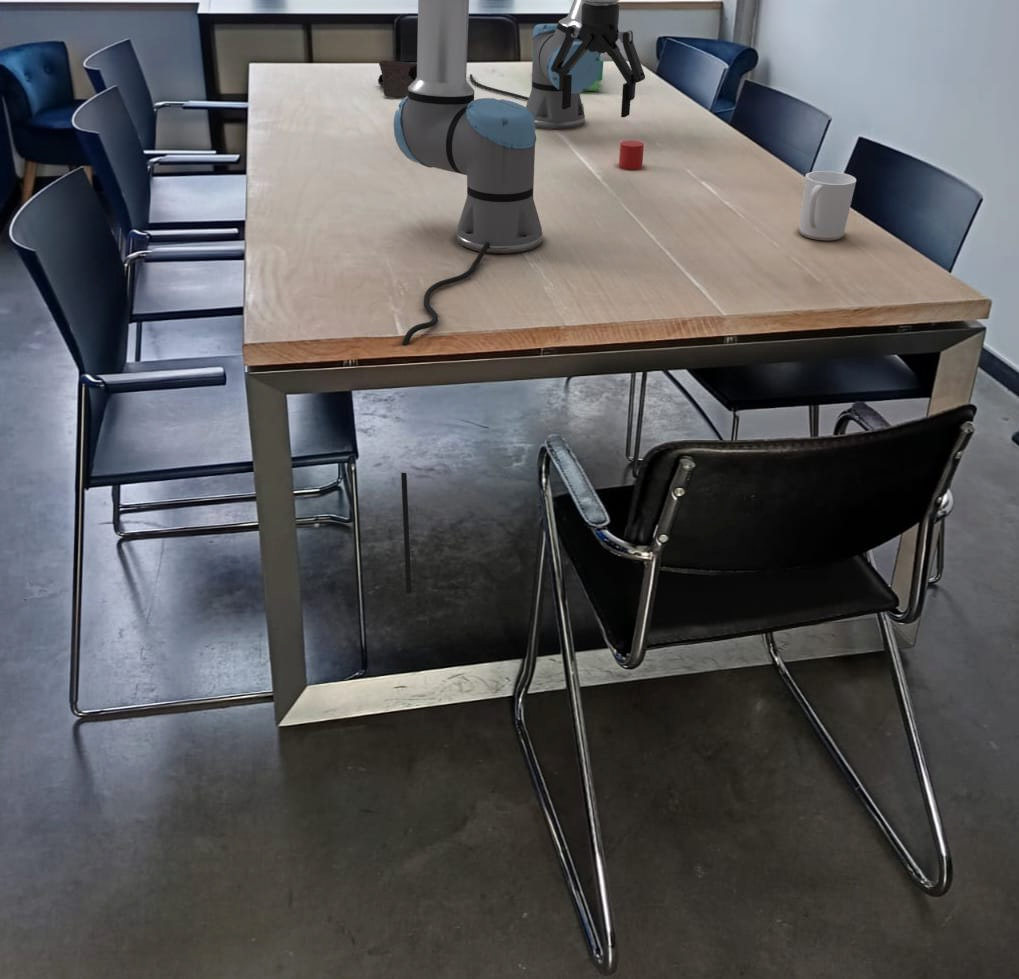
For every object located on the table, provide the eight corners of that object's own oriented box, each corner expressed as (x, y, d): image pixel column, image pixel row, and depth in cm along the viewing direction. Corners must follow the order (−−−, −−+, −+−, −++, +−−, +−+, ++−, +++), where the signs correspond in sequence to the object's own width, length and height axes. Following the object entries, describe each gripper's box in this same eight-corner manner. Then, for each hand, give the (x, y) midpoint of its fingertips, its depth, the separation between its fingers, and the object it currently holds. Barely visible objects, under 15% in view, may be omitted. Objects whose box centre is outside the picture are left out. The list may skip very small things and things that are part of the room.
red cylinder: (637, 163, 242) (639, 140, 240) (645, 169, 238) (647, 146, 235) (615, 164, 241) (617, 141, 238) (623, 170, 237) (624, 146, 234)
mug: (809, 222, 208) (818, 168, 202) (854, 233, 203) (864, 177, 197) (782, 236, 200) (791, 180, 195) (827, 247, 195) (838, 190, 190)
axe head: (443, 87, 294) (392, 77, 287) (436, 115, 299) (385, 106, 292) (421, 62, 307) (371, 52, 300) (414, 89, 311) (365, 80, 304)
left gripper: (666, 5, 216) (657, 115, 227) (553, -5, 226) (550, 101, 237) (651, 10, 211) (643, 123, 222) (536, -1, 220) (534, 108, 232)
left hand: (595, 112), depth 230 cm, fingers open, 13 cm apart
